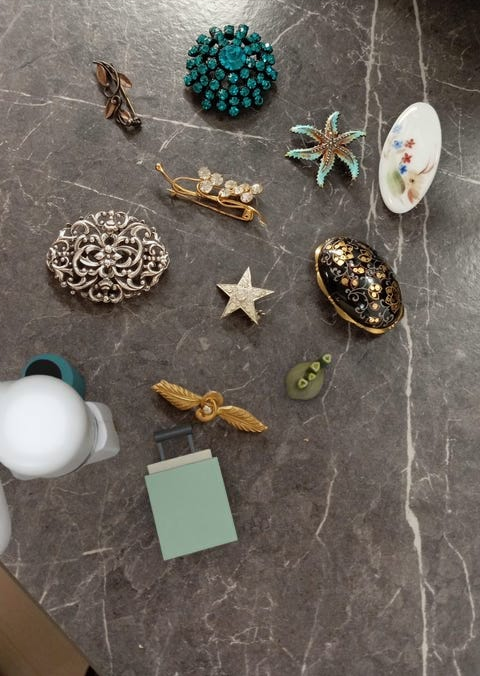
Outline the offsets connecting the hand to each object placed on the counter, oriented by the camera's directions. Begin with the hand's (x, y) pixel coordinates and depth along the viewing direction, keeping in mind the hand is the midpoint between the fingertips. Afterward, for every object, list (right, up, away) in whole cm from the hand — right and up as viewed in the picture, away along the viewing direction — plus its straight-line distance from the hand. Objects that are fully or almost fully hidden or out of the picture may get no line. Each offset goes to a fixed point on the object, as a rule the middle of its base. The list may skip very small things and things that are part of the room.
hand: (71, 444), depth 95 cm
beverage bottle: (-6, +1, +28) cm, 28 cm away
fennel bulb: (+26, +2, +30) cm, 40 cm away
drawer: (+10, -10, +25) cm, 28 cm away
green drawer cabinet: (+11, -14, +25) cm, 30 cm away
